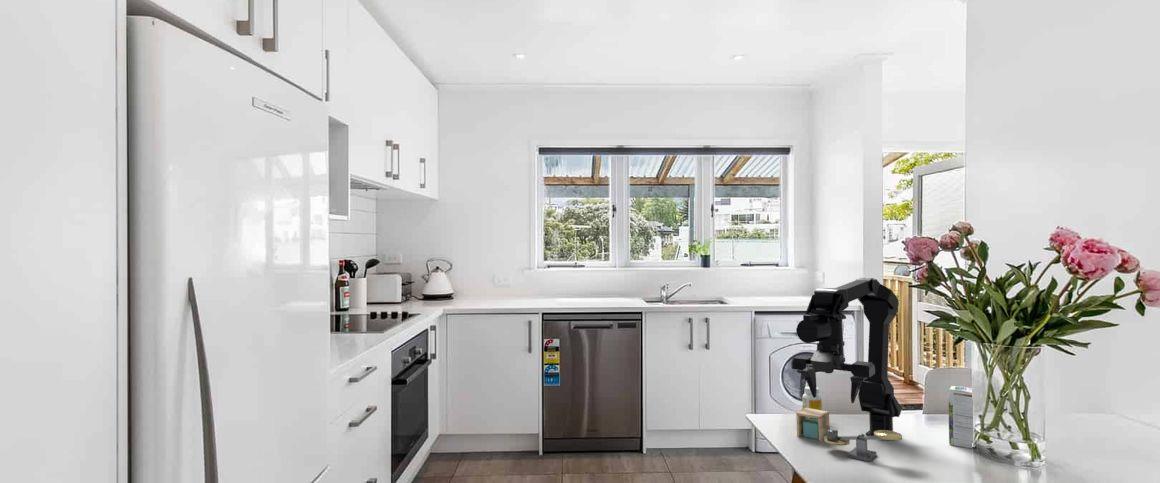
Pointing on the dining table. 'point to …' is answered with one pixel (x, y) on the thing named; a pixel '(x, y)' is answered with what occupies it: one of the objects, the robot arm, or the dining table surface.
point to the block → (810, 428)
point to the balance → (860, 442)
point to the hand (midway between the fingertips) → (833, 399)
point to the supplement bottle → (811, 400)
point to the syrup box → (960, 416)
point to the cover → (813, 413)
